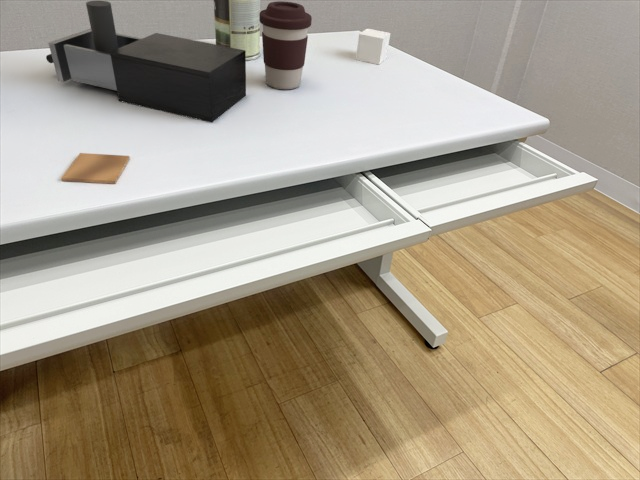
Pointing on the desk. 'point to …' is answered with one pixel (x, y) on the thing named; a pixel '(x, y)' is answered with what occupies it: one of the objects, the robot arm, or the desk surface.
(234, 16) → the coffee can
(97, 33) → the canister
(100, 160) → the pad
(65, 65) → the drawer
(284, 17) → the coffee cup
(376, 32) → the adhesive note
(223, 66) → the cabinet
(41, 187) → the desk surface
